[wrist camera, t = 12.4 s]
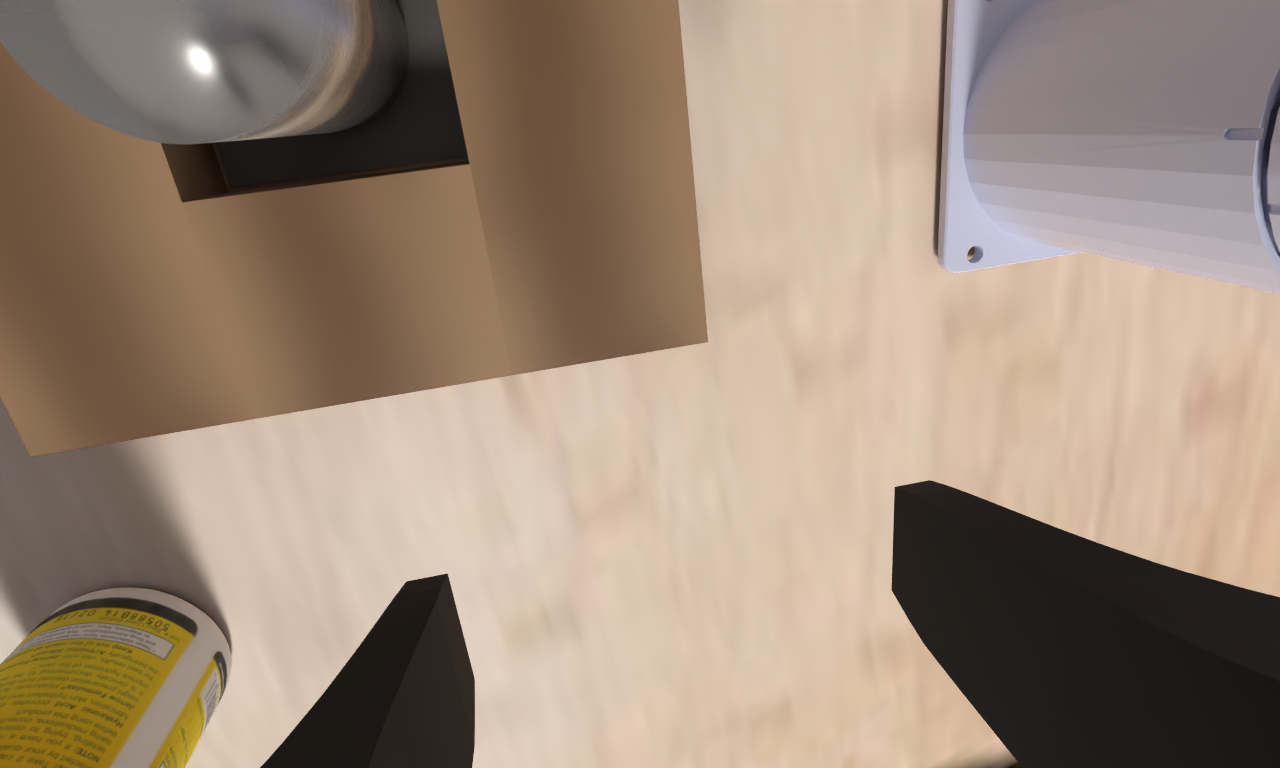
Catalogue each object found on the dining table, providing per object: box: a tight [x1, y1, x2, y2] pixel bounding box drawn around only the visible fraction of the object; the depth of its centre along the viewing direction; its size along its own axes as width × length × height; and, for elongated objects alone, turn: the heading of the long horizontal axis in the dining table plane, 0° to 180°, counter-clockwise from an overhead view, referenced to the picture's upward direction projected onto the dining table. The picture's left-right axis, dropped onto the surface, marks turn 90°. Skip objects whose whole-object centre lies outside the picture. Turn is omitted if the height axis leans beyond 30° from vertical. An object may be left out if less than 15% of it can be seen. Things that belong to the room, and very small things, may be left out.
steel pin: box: [0, 0, 409, 145], centre depth 12 cm, size 4×4×8 cm
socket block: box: [0, 0, 708, 457], centre depth 15 cm, size 16×16×3 cm
